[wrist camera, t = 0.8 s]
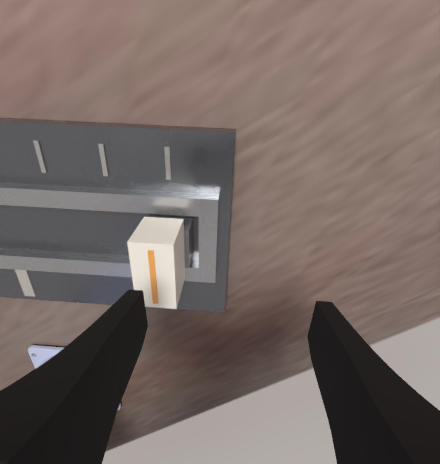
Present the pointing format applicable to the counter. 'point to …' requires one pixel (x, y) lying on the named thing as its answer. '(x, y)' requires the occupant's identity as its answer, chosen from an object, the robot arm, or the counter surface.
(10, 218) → the console
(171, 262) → the fader tab
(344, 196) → the counter surface
